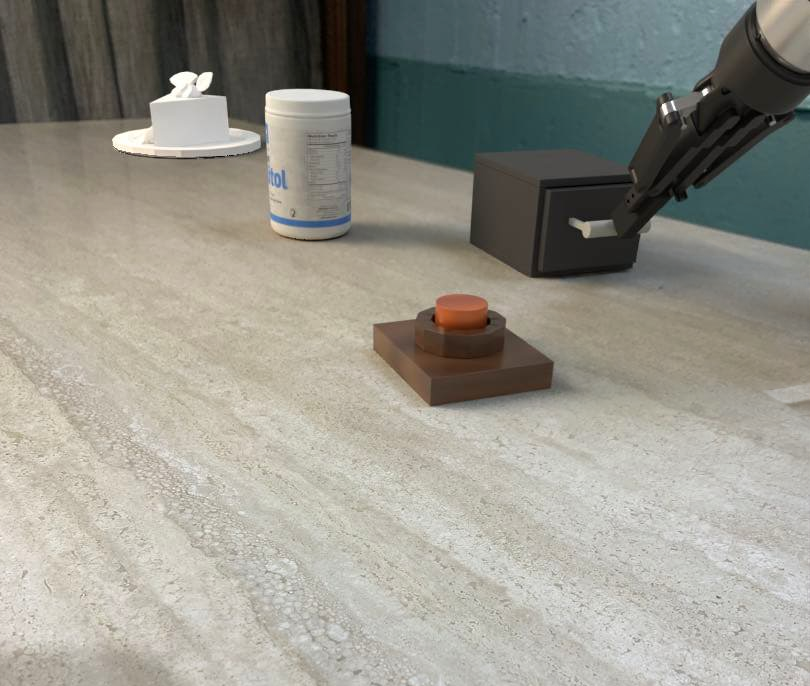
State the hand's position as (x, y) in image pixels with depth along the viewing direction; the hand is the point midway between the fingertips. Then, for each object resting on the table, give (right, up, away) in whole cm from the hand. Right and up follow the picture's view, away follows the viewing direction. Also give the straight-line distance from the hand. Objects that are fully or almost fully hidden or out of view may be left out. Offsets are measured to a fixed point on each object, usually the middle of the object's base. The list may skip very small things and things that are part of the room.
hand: (621, 226), depth 83 cm
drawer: (-3, 0, +10) cm, 11 cm away
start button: (-17, -14, -17) cm, 27 cm away
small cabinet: (-5, +2, +14) cm, 14 cm away
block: (-17, -17, -15) cm, 28 cm away
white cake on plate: (-58, +38, +67) cm, 96 cm away
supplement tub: (-32, +6, +20) cm, 38 cm away
